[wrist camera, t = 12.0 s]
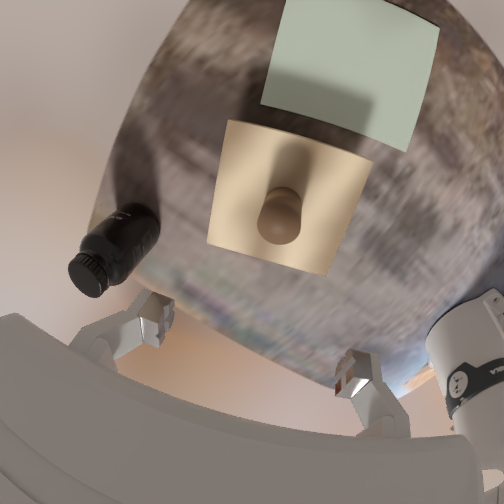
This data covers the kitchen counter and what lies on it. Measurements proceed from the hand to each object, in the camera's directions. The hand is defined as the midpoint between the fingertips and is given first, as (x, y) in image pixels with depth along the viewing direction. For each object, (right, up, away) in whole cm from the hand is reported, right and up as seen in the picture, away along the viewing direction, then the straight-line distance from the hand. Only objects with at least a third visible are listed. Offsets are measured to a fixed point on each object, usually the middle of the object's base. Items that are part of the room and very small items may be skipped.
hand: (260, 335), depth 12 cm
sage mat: (+9, +22, +7) cm, 25 cm away
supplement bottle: (-15, +7, +22) cm, 28 cm away
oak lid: (+2, +8, +12) cm, 15 cm away
